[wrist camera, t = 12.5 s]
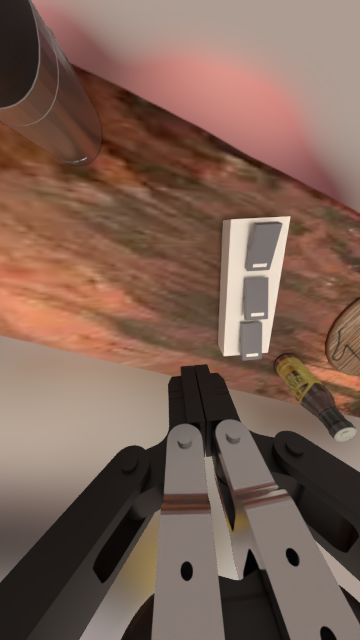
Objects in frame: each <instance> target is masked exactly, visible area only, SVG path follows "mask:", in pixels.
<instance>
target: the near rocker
mask: <svg viewBox="0 0 360 640" xmlns="http://www.w3.org/2000/svg"><path fill="white" fill-rule="evenodd" d="M282 225H283V224H282V223H281V222H279V221H275V222H256V223H253V228H252V233H251V238H250V243H249V245H248V254H247V259H246V264H245V269H246V270H247V271H262V270H270V267H271V263H272V260H273V256H274V253H275V249H276V246H277V242H278V239H279V235H280V232H281V228H282Z"/></svg>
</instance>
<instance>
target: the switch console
mask: <svg viewBox="0 0 360 640" xmlns="http://www.w3.org/2000/svg"><path fill="white" fill-rule="evenodd" d="M275 221H279V222H281V223H282V224H283V225H282V228H281V232H280V235H279V239H278V242H277V246H276V249H275V253H274V256H273V260H272V263H271V267H270V270H262V271H247V270H246V269H245V264H246V259H247V254H248V245H249V243H250V238H251V233H252V228H253V223H256V222H275ZM289 222H290V216H288V217H269V218H249V219H230V220H223V230H222V255H221V281H220V306H219V331H218V345H219V347H220V350H221V352H222V354H223V356H232V355H240V341H239V339H240V323H243V322H256V321H260V322H262V353H268V348H269V342H270V336H271V330H272V324H273V318H274V312H275V306H276V300H277V294H278V288H279V282H280V276H281V270H282V264H283V258H284V252H285V246H286V240H287V234H288V228H289ZM266 277H269V280H268V319H262V320H248V321H247V320H244V302H243V297H244V279H251V278H266Z"/></svg>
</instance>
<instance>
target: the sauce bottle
mask: <svg viewBox="0 0 360 640" xmlns="http://www.w3.org/2000/svg"><path fill="white" fill-rule="evenodd" d="M275 369H276V371H277V373H278V374H279V376H280V377H281V379H282V380H283V381H284V383H285V384H286V385H287V387H288V388H289V389H290V391H291V392H292V393H293V395H294V396H295V397H296V399H297V400H298V402H299V403H300V404H301V405H302V406H303V407H304V408H306V409H307V410H308V411H309V412H311V413H312V414H313V415H315V416H316V417H318V418H319V420H320V421H321V422H322V423H323V424H324V425H325V427H326V428H327V429H328V431H329V433H330V435H331V436H332V437H333V438H334V439H335V440H336V441H339V442H343V441H347V440H349V439H351V438H352V437H354V436H355V435H356V433H357V430H356V428H355V427H354V426H353V425H352V423H351V422H349V421H347V420H346V419H345V418H344V416H343V415H342V414H341V413H340V412H339V410H338V409H337V408H336V406H335V401H334V398H333V396H332V394H331V393H330V392H329V391H328V390H327V389H326V388H325V387H324V385H323V384H322V383H321V382H320V381H319V380H318V379H317V378H316V377H315V376H314V375H313V374H312V373H311V372H310V371H309V369H308V368H307V367H306V366H305V365H304V364H303V363H302V362H301V361H300V360H299V359H297V357H295V356H294V355H292V354H285V355H282V356H281V357H279V358H278V359H277V360H276V362H275Z"/></svg>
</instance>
